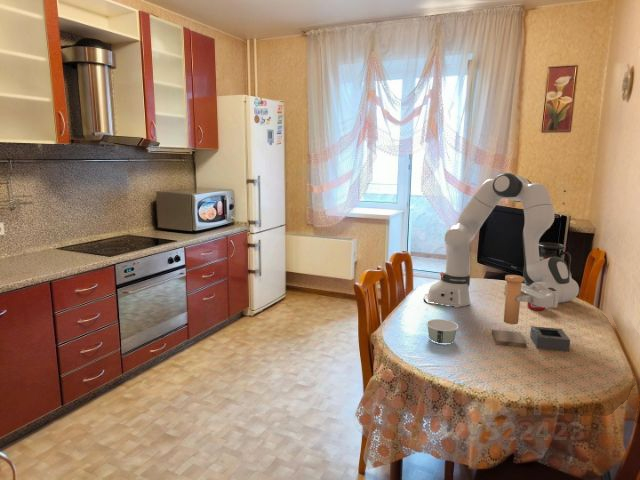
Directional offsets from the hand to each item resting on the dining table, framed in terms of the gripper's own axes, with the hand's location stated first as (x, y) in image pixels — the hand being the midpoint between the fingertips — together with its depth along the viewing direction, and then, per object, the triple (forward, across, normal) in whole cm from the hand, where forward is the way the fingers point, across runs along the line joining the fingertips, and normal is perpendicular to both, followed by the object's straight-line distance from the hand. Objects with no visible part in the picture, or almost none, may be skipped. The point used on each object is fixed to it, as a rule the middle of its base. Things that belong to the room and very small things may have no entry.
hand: (511, 296), depth 167 cm
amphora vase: (-55, -39, +18) cm, 70 cm away
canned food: (-39, -28, +18) cm, 51 cm away
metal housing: (-13, +7, +18) cm, 23 cm away
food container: (+25, -7, +18) cm, 32 cm away
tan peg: (-1, 0, +10) cm, 11 cm away
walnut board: (-1, 0, +18) cm, 18 cm away
